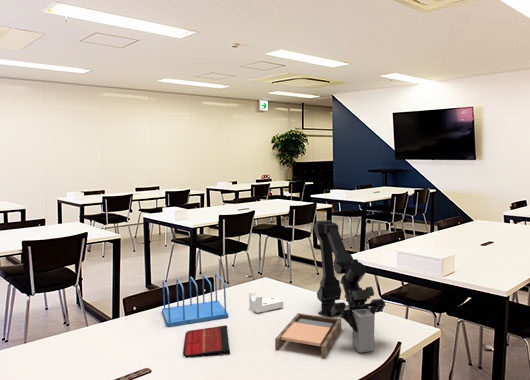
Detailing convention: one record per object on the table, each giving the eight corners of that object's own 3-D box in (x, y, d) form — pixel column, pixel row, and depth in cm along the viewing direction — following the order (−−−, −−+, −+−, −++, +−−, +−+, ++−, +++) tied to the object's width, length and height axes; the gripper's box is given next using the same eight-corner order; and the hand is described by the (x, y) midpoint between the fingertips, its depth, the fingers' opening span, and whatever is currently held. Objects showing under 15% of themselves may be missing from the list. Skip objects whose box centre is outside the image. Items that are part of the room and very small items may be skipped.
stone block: (352, 345, 151) (352, 310, 150) (366, 343, 152) (367, 309, 151) (359, 352, 146) (359, 316, 145) (374, 350, 147) (374, 315, 146)
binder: (227, 324, 168) (230, 349, 147) (227, 330, 168) (230, 356, 147) (185, 329, 166) (182, 355, 145) (185, 335, 166) (183, 361, 145)
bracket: (257, 315, 182) (256, 297, 182) (249, 309, 189) (249, 292, 188) (283, 309, 189) (283, 292, 188) (275, 304, 195) (275, 287, 194)
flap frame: (297, 322, 173) (297, 313, 173) (341, 329, 166) (341, 319, 166) (275, 349, 150) (275, 338, 150) (324, 358, 143) (324, 347, 143)
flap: (299, 325, 169) (299, 315, 168) (334, 331, 163) (334, 320, 163) (281, 348, 150) (281, 336, 150) (320, 354, 145) (320, 343, 145)
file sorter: (218, 304, 195) (217, 271, 194) (228, 318, 179) (227, 282, 178) (161, 312, 187) (160, 277, 185) (167, 327, 170) (166, 289, 169)
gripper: (333, 280, 149) (346, 324, 139) (383, 276, 153) (398, 319, 143) (325, 295, 157) (336, 337, 147) (372, 291, 161) (386, 331, 151)
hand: (365, 331), depth 147 cm, fingers closed on stone block, 5 cm apart
